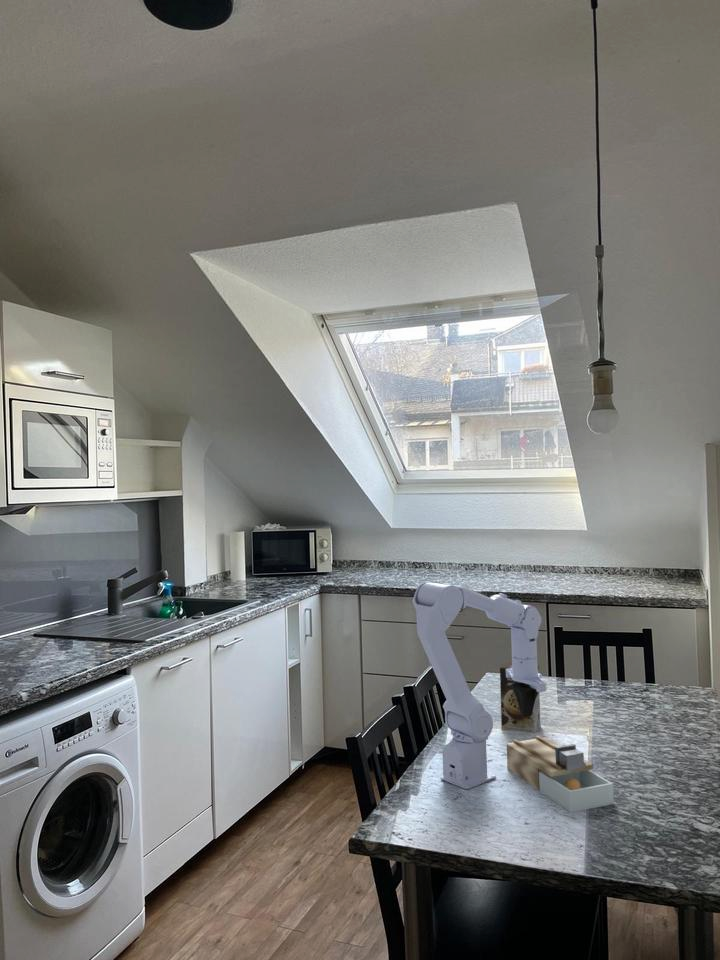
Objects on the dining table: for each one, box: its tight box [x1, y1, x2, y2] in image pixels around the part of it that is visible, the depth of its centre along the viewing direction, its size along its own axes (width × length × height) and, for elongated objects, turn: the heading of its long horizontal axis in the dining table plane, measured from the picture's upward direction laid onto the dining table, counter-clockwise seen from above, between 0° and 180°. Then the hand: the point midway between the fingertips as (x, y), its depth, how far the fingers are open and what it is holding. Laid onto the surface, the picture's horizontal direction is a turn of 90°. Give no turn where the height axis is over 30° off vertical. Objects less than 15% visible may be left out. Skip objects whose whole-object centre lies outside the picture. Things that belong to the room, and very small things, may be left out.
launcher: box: [506, 735, 594, 791], centre depth 161 cm, size 18×10×6 cm, turn 18°
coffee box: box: [499, 662, 541, 734], centre depth 195 cm, size 9×6×16 cm
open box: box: [539, 770, 615, 813], centre depth 151 cm, size 11×10×4 cm
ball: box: [565, 778, 580, 790], centre depth 152 cm, size 3×3×3 cm
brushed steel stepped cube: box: [555, 743, 585, 771], centre depth 153 cm, size 4×4×4 cm
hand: (526, 715), depth 172 cm, fingers closed
